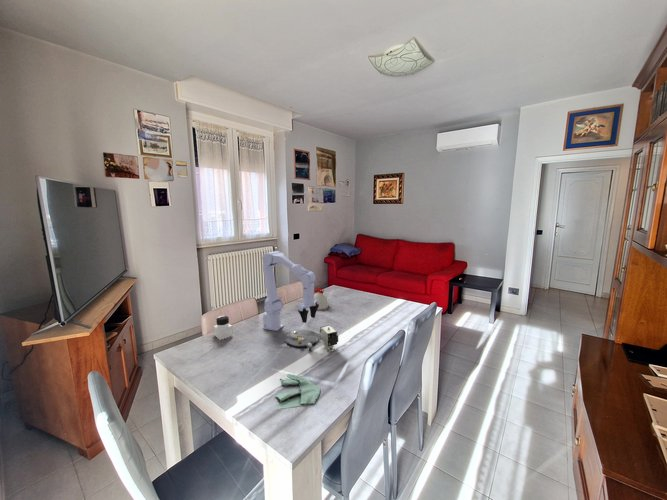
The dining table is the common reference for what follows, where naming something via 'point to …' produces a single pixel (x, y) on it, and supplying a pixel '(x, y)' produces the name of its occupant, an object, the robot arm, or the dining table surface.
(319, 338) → the base plate
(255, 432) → the dining table surface
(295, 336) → the cover
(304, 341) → the turntable
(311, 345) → the silver oval knob
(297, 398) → the cloth
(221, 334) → the medicine bottle
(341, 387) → the dining table surface
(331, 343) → the pneumatic valve
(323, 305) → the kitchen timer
